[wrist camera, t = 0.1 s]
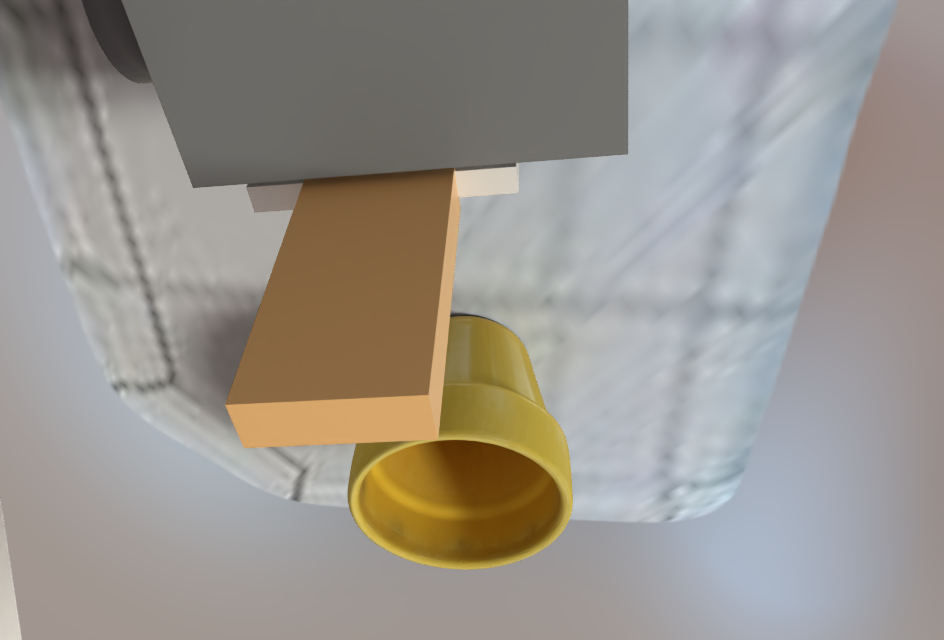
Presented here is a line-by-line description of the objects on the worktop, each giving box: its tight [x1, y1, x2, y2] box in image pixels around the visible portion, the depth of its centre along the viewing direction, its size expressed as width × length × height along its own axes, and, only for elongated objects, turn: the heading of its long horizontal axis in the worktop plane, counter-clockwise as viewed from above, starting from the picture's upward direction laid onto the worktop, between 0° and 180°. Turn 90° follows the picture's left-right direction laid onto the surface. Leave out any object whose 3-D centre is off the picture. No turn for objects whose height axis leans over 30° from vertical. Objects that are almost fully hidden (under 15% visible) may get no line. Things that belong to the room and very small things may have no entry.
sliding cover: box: [225, 163, 519, 448], centre depth 28 cm, size 9×2×18 cm, turn 97°
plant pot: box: [348, 316, 573, 569], centre depth 43 cm, size 10×10×10 cm
